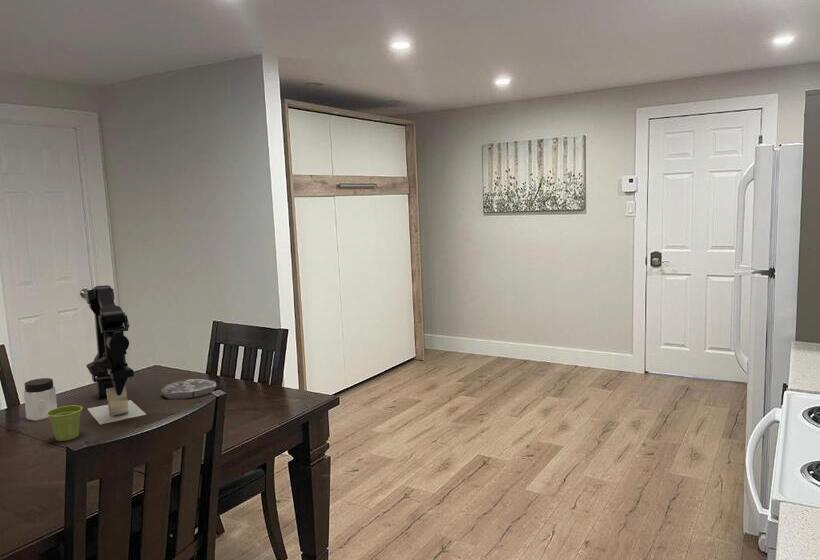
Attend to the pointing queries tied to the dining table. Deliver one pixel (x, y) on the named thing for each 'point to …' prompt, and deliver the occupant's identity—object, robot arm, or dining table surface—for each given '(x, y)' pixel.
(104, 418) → the grey mat
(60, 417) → the plant pot
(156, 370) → the dining table surface
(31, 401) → the jar
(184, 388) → the brain slice
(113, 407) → the birch block
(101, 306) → the robot arm
